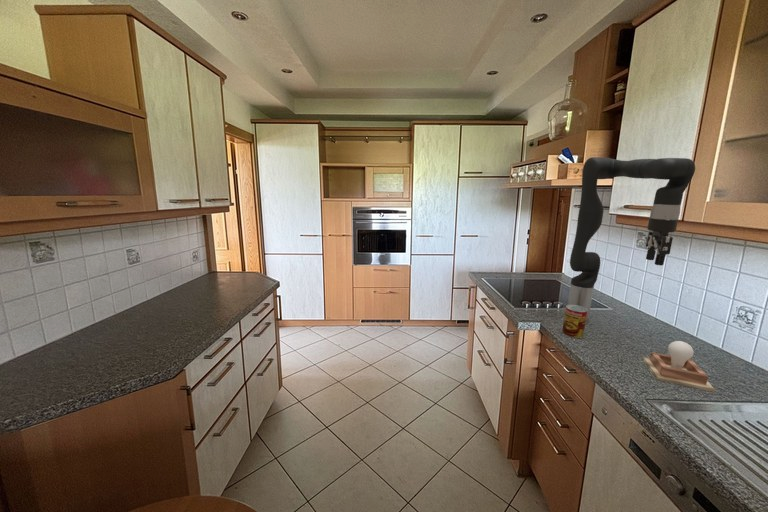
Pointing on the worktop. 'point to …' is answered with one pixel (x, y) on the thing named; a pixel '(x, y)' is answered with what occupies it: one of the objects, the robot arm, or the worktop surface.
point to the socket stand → (677, 372)
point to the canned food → (574, 321)
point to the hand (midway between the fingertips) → (654, 262)
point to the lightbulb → (679, 353)
